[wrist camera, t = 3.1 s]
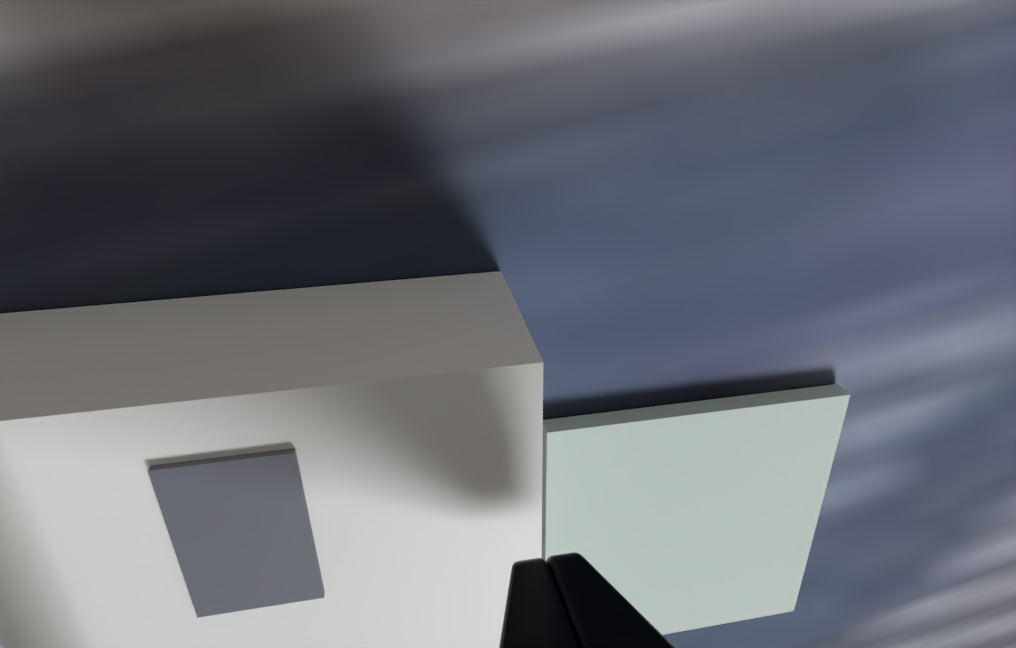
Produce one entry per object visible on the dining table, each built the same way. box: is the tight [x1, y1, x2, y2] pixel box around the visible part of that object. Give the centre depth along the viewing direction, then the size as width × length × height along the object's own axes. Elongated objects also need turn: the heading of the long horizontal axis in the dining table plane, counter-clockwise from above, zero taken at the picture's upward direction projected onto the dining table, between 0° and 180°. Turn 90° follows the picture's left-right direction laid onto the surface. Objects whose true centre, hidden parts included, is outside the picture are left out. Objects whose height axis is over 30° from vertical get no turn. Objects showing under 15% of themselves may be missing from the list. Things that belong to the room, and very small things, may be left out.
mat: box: [542, 384, 850, 635], centre depth 13 cm, size 6×6×1 cm
